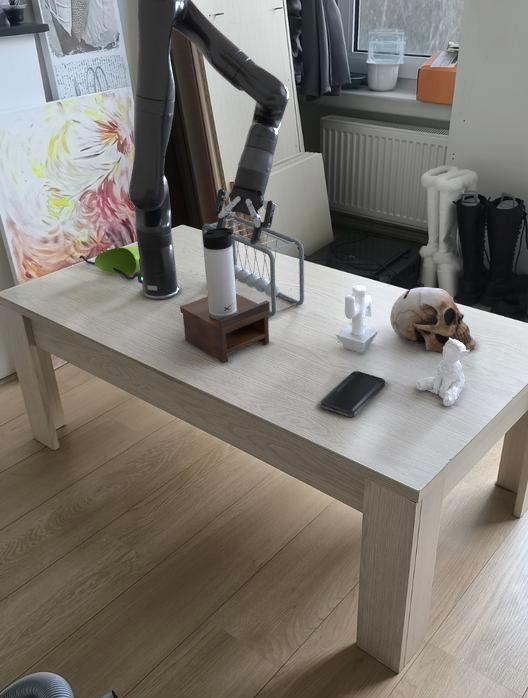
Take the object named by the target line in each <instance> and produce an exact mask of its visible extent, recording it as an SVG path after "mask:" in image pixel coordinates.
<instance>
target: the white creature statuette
mask: <svg viewBox="0 0 528 698" xmlns="http://www.w3.org/2000/svg"><path fill="white" fill-rule="evenodd" d="M470 352H471V350H466V347H465V346H464V344H463V343H460V342H459V341H457V340H455V339H453V340H452V339H451V338H450V337H449V340H448V341H447V343H445V346H444V347H443V352H441V354H442V356H443V358H441V359H440V362H439V363H438V364H437V365H436V370H437V374H436V375H434V376H430V377H428V376H427V377H425V378H424V377H423V378H422V379H420V380H417V382H416V387H417V389H418V391H422V392H423V391H424V392H425V391H428V392H430V393H432V394H434V395H438V396H439V398H440V399H442V401H443V402H442V403H443V406H445V407H447V408H448V407H451V406H452V405H454V404H455V402H456V401H457V399H458V398H459V396H460V395H461V392H462V391H463V390H464V386H465V385H466V377H465V375H464V372H463V365H462V364H461V362H460V361H462V360H463V359H464V358H465V357H467V356H468V355H469V354H470Z"/></svg>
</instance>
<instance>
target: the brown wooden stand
mask: <svg viewBox="0 0 528 698" xmlns="http://www.w3.org/2000/svg"><path fill="white" fill-rule="evenodd" d="M270 305H271V303H270V301H269V300H263V301H262V302H259V303H257V302H256V301H253V300H251V299H249V298H247V297H245V296H243V295H240V294H238V293H236V308H237V312H236V313H234V314H231V315H229V316H226V317H224V318H221V319H219V320H216V319H213V318H211V317H210V315H209V303H208V295H207V296H205V297H203V298H200V299H197V300H193V301H192V302H189V303H186V304H183V305H181V306H179V309H180V311H179V312H180V313H181V314H182V321H183V329H184V330H183V331H184V338H185V342H187V343H189V344H190V345H192V346H193V347H195V348H197V349H199V351H202V352H204V353H205V354H207V355H209V356H210V357H212V358H214V359H216V360H217V361H219V362H221V363H222V364H226V363H228V362H229V360H228V358H229V357H228V354H231V353H233V352H235V351H238V350H240V349H242V348H244V347H246V346H249V345H251V344H253V343H256V342H258V343H261V344H262V345H264V346H266V345H269V344H270V329H269V317H271V316H270V312H271V306H270Z"/></svg>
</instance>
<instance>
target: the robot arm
mask: <svg viewBox="0 0 528 698" xmlns="http://www.w3.org/2000/svg"><path fill="white" fill-rule="evenodd" d="M137 29H138V30H137V32H138V52H137V63H136V76H135V77H136V78H135V79H136V80H135V88H134V104H133V105H134V106H133V143H134V145H133V146H134V147H133V148H134V149H133V150H134V151H133V162H132V168H131V175H130V180H129V185H128V197H129V199H130V202H131V203H132V205H133V206H134V213H135V214H134V215H135V216H134V229H135V234H136V242H137V246H138V250H139V265H140V271H139V272H136V273H133V275H132V276H129V275H126V274H124V273H123V272H122V271H120V270H118V269H116V268H113V269H114V270H115V271H116V272H119V273H120V274H122V276H123V277H124V278H126V279H127V280H134V279H135V278H136V277H137V282H138V283H139V284H141V285H142V286H141V287H142V291H143V295H144V297H146V298H147V299H151V300H167V299H170V298H172V297H175V296H176V295H178V293H179V286H178V285H179V284H178V275H177V266H176V259H175V249H174V241H173V240H174V239H173V232H172V231H173V230H172V212H171V211H172V210H171V201H170V192H169V191H170V190H169V184H168V180H167V178H166V176H165V159H166V152H167V148H168V143H169V139H170V135H171V130H172V125H173V119H174V109H175V98H176V86H175V80H174V74H173V69H172V63H171V41H172V35H173V34H172V33H173V30H175V31H177V32H178V33H180V34H181V35H182V36H183V37H185V38H187V40H188V41H190V43H192V44H193V45H194V46H195V48H197V50H198V51H199V52H200V53H201V55H202V56H203V57H204V58H205V60H206V61H207V62H208V63H209V65H210V66H211V67H212V69H214V71H216V72H217V74H219V75H220V76H221V77H222V78H223V79H224V80H225V81H227V82H228V83H229V84H230V85H231V86H232V87H234V88H235V89H236V90H238V91H240V92H244V93H245V94H247V95H248V96H249V97H250V98H252V99H253V100H254V101H255V106H254V109H253V110H254V111H253V116H252V119H251V124H250V126H249V129H248V131H247V136H246V139H245V143H244V147H243V149H242V153H241V155H240V157H239V161H238V163H237V169H236V174H235V178H234V181H233V186H232V190H231V191H226V190H224V189H223V188H219V189H218V191H217V194H216V197H215V201H214V204H213V208H212V210H211V212H212V214H213V215H214V216H216V217H217V218H218V219H217V222H218V223H217V222H216V223H217V224H216V225H217V227H216V226H215V227H216V228H226V227H227V226H226V225H227V222H228V221H225V220H227V219H229V217H230V216H233V215H234V214H240V215H246V216H248V217H251V219H252V220H253V223H255V226H256V227H253V228H254V230H253V229H252V232H251V233H252V234H251V238H250V239H251V241H249V242H250V243H251V244H256V242H257V243H260V239H261V238H260V237H261V235H262V233H261V231H262V229H264V228H269V229H271V227H272V224H273V219H274V213H275V210H276V203H275V202H274V201H273V200H265V198H264V197H265V194H266V190H267V187H268V183H269V179H270V175H271V172H272V167H273V160H274V155H275V151H276V147H277V144H278V139H279V131H280V127H281V124H282V121H283V118H284V115H285V111H286V108H287V105H288V103H289V98H290V97H289V96H290V94H289V91H288V88H287V87H286V85H285V84H284V83H283V82H282V81H281V80H280V79H279V78H277V77H276V75H274V74H272V73H271V72H270V71H268V70H266V69H265V68H263V67H261V66H260V65H258V64H257V63H256V62H255V61H254V60H253V59H252V58H251V57H250V56H248V54H246V53H245V52H244V51H243V50H242V49H241V48H239V47H238V46H237V45H236V44H235V43H234V42H232V41H231V40H230V39H229V38H228V37H227V36H226V35H225V34H223V32H221V30H219V29H218V28H217V27H216V26H215V25H214V24H213V23H212V22H211V21H210V20H209V19H208V18H207V17H206V16H205V14H204V13H202V11H201V10H200V9H199V8H198V7H197V5H196V4H195V3H194V2H193V1H192V0H137ZM228 199H229V201H230V202H229V204H227V205H226V206H225V207H224V204H225V201H227V200H228ZM262 207H263V209H264V210H265V212H264V218H263V221H262V217H261V214H260V211H259V210H261V209H262ZM223 208H224V209H223ZM262 232H263V231H262ZM78 259H80V260H81V259H82V260H83V261H84V262H85V263H87V264H89V265H94V266H96V265H95V261H92V260H91V261H90V260H88V259H87V258H86V257H85V256H84V255H83V254H82V255H80V256H79V257H78ZM120 274H119V275H120Z"/></svg>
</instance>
